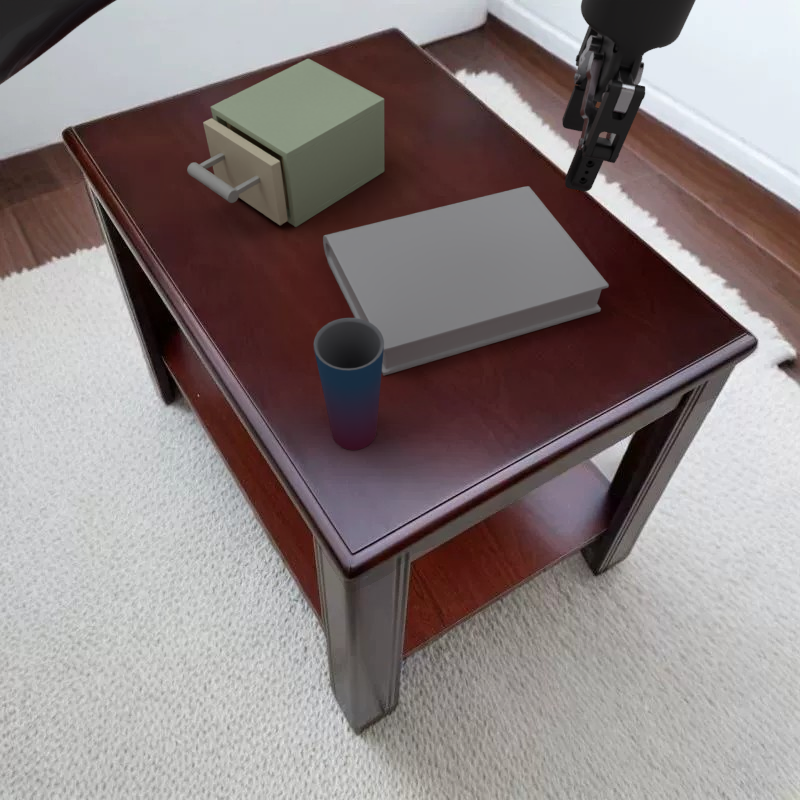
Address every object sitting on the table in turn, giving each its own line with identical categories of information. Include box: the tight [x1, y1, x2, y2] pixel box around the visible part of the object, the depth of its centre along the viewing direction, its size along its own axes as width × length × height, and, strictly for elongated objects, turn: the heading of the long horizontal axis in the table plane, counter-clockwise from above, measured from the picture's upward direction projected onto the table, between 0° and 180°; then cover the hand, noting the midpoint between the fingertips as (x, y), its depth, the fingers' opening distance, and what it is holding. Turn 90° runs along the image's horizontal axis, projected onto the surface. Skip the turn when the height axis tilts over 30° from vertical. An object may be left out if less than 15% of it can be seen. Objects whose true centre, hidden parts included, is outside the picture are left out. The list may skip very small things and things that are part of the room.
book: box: [322, 185, 610, 377], centre depth 76 cm, size 18×4×24 cm
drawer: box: [186, 117, 289, 226], centre depth 83 cm, size 18×11×8 cm, turn 137°
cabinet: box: [210, 58, 385, 228], centre depth 85 cm, size 15×13×10 cm
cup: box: [313, 317, 384, 451], centre depth 61 cm, size 5×6×12 cm
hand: (574, 156), depth 63 cm, fingers open, 8 cm apart
